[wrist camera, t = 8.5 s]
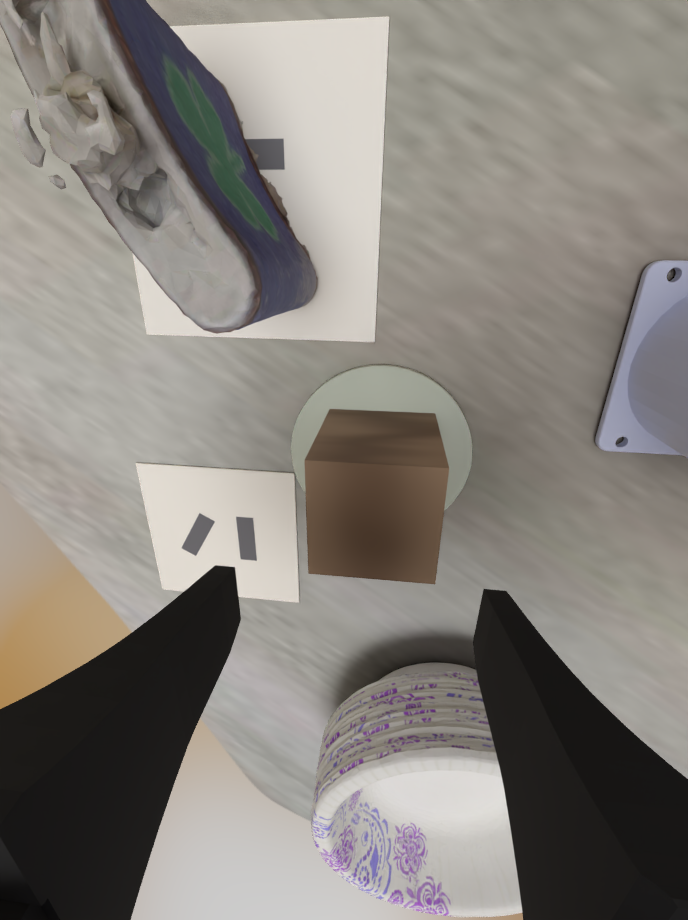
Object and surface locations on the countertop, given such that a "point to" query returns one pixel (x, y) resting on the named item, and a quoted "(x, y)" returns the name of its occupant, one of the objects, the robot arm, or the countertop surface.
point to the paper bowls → (417, 796)
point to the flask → (158, 156)
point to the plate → (387, 393)
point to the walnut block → (376, 495)
